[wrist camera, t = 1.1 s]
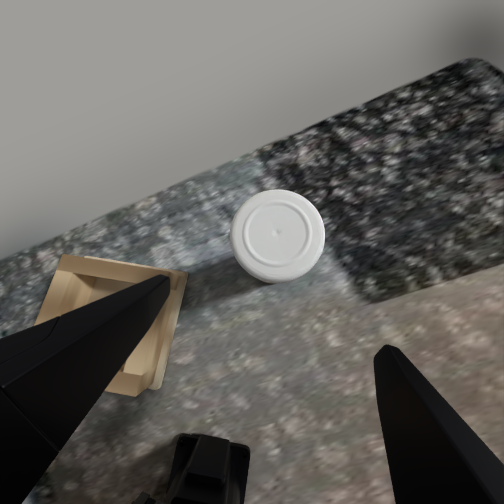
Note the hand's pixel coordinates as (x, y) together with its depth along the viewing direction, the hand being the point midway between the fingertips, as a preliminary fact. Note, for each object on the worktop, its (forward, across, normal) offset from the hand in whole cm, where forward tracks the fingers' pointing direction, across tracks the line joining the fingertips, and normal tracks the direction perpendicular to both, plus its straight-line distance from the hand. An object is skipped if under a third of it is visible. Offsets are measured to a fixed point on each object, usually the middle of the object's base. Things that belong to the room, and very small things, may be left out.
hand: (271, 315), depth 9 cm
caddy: (+6, +13, +13) cm, 20 cm away
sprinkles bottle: (+13, 0, +6) cm, 15 cm away
